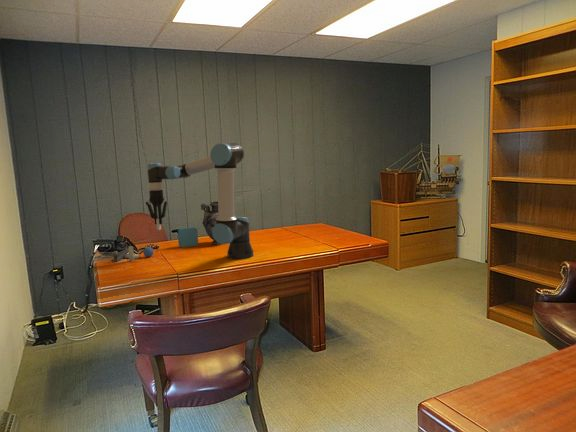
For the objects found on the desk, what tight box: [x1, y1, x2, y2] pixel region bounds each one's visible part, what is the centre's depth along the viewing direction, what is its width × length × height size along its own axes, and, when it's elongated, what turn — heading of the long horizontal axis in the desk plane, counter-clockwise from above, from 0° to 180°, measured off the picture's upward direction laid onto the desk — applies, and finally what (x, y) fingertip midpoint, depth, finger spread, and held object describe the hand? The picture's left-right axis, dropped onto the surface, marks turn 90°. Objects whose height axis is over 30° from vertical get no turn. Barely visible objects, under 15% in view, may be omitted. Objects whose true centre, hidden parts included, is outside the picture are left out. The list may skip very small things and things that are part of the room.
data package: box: [177, 226, 199, 248], centre depth 281 cm, size 12×4×12 cm, turn 119°
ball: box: [142, 246, 155, 258], centre depth 253 cm, size 6×6×6 cm
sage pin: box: [128, 245, 135, 263], centre depth 244 cm, size 2×2×8 cm
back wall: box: [113, 247, 129, 263], centre depth 254 cm, size 2×20×4 cm, turn 177°
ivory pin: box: [124, 253, 141, 259], centre depth 252 cm, size 2×2×8 cm
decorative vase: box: [200, 201, 221, 245], centre depth 286 cm, size 21×19×28 cm
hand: (159, 229), depth 250 cm, fingers closed
